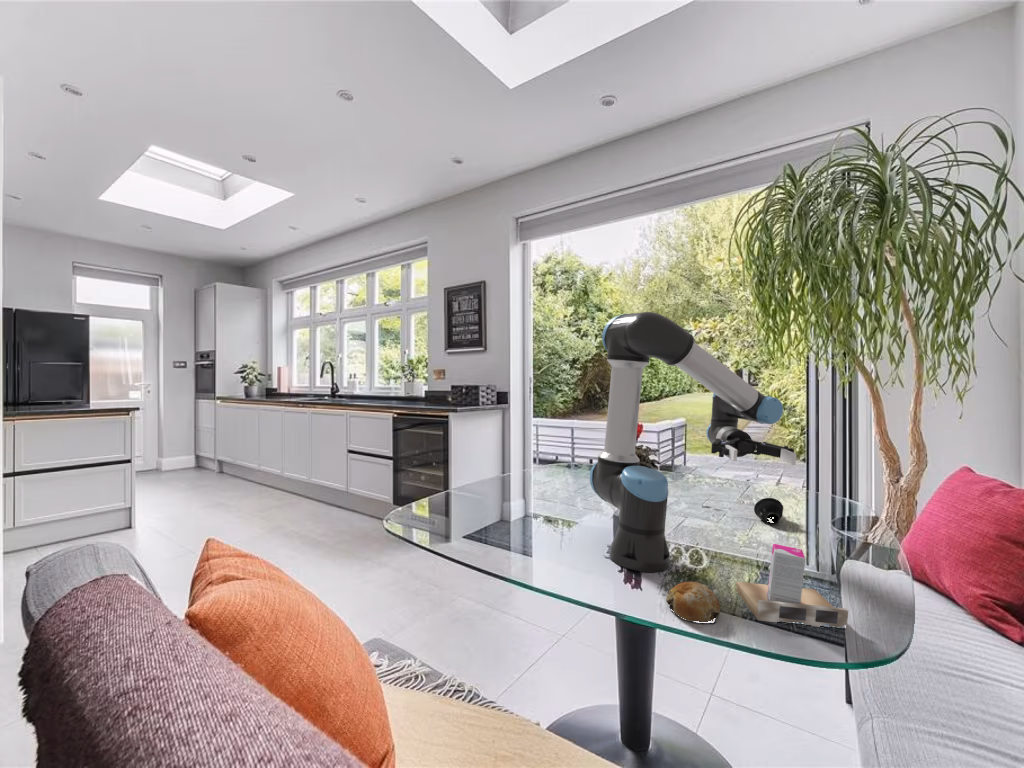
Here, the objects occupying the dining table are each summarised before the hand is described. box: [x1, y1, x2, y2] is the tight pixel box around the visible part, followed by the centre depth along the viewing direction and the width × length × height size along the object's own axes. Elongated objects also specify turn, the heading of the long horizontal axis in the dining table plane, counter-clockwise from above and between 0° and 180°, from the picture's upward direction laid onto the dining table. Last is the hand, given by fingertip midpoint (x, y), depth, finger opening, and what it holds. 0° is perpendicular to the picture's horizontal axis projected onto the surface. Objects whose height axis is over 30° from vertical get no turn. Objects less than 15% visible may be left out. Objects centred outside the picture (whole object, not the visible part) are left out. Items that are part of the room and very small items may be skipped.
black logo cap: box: [753, 497, 784, 525], centre depth 164 cm, size 9×11×18 cm
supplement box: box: [767, 543, 806, 604], centre depth 102 cm, size 6×6×12 cm
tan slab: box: [735, 581, 849, 628], centre depth 104 cm, size 17×13×4 cm
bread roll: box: [665, 581, 721, 622], centre depth 101 cm, size 10×10×8 cm
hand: (764, 457), depth 117 cm, fingers open, 13 cm apart
